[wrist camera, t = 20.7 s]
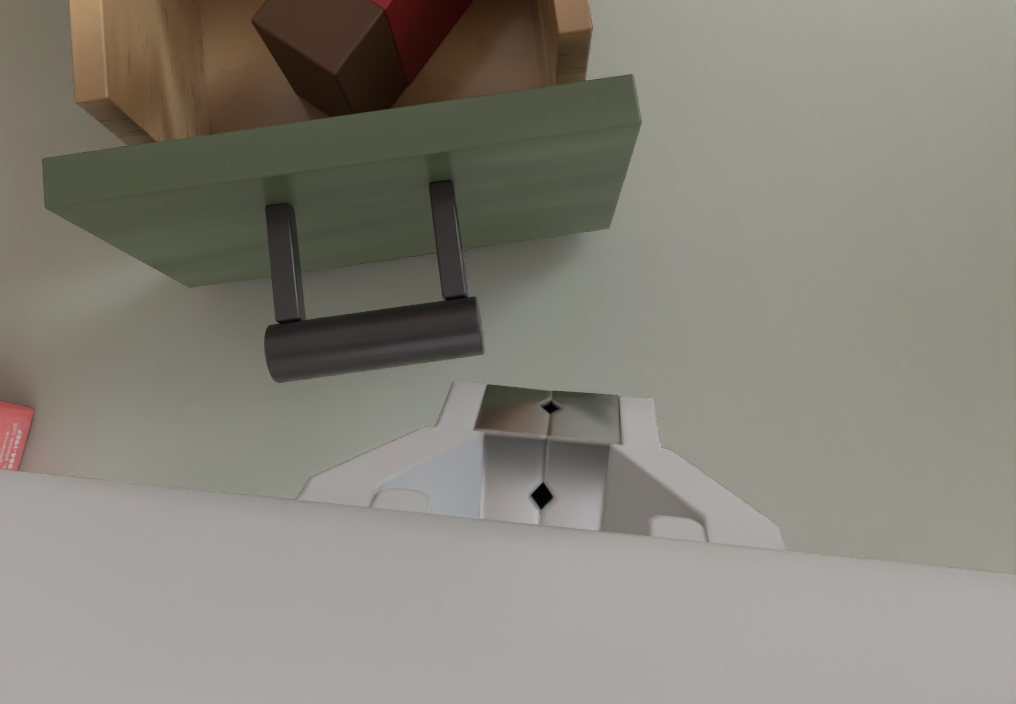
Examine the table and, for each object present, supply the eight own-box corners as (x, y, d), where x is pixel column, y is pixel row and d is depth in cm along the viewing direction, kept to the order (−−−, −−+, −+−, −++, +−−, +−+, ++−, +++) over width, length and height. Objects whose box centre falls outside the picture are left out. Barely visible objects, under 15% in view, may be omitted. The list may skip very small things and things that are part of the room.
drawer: (631, 363, 25) (675, 312, 17) (199, 423, 25) (53, 400, 18) (544, -178, 28) (548, -426, 20) (156, -121, 28) (15, -347, 20)
